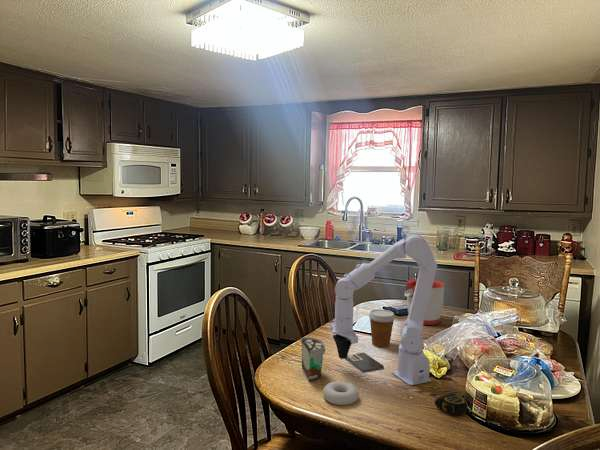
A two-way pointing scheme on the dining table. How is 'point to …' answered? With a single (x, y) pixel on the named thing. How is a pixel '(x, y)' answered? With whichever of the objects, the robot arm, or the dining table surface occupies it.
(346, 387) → the donut
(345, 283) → the robot arm
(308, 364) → the food container
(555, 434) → the dining table surface
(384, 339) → the disposable coffee cup
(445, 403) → the tape measure
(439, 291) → the citrus juicer
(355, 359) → the label panel
